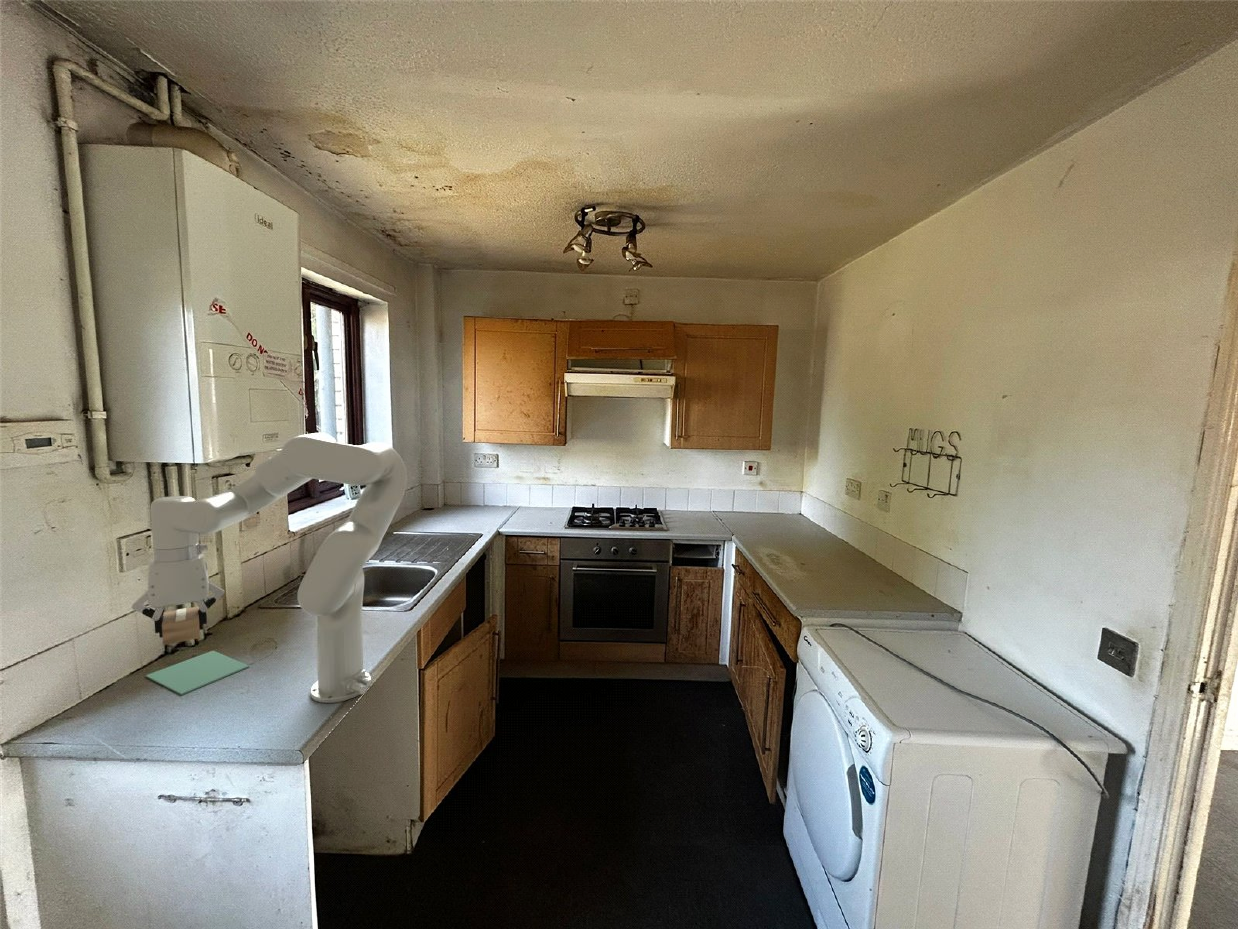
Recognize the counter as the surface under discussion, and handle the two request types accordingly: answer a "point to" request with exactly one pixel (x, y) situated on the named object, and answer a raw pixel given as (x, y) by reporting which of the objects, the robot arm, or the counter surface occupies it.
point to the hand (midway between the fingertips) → (182, 630)
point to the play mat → (197, 672)
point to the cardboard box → (180, 625)
